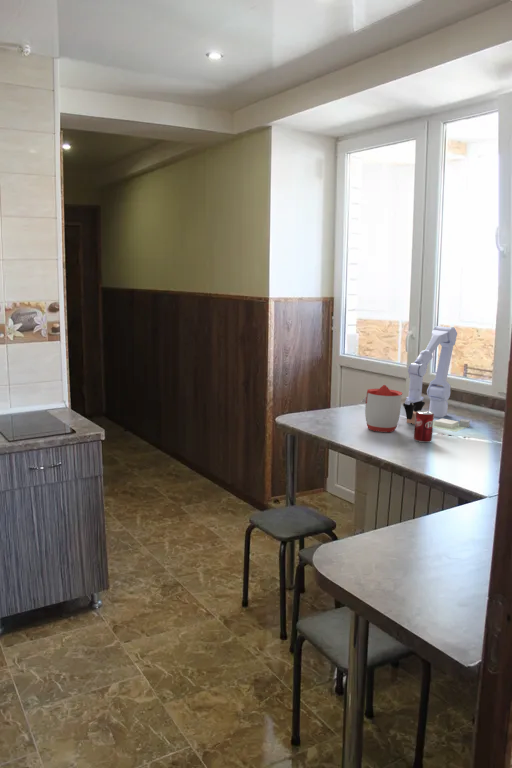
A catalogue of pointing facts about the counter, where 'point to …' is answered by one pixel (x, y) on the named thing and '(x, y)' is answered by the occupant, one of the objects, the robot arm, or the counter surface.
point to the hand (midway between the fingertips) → (412, 417)
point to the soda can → (423, 426)
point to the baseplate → (450, 428)
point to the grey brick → (464, 423)
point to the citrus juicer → (382, 409)
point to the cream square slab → (446, 423)
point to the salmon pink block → (412, 418)
